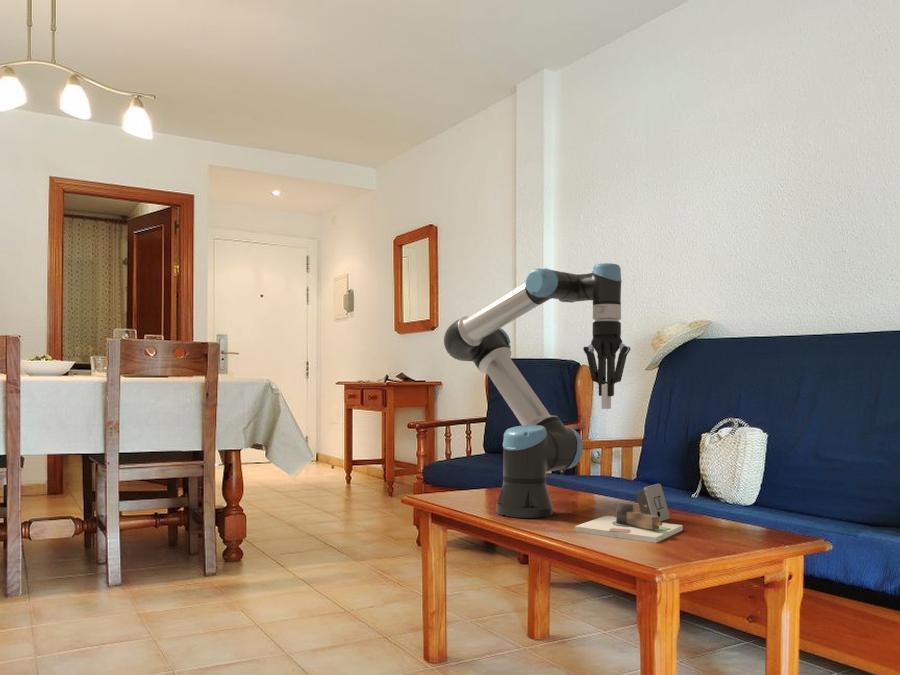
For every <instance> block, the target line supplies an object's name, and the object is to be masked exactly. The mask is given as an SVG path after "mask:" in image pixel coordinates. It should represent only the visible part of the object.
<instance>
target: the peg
mask: <svg viewBox="0 0 900 675" xmlns="http://www.w3.org/2000/svg"><path fill="white" fill-rule="evenodd" d="M615 506H616V513H615V514H616V515H615V517H616V523H618V524H623V525H635V526H639V527H643V528H647V529H652V530H653V529H659V526H662V523H663V521H661V522H659V516H654V515H649V514H645V513H641V511H640V512H639V511H634V504H631V503H622V502H621V503H616V505H615Z"/></svg>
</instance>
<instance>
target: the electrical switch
mask: <svg viewBox="0 0 900 675" xmlns="http://www.w3.org/2000/svg"><path fill="white" fill-rule="evenodd" d="M663 490H664V489H663V486H662V485H661V483H655V484H652V485H648V486H644V487H643V490H642V489H641V490H638V491H636V492H635V497H636V499H637V500H636V501H637V503H638V506H639V511H640V513H645V514H649V515H654V516H659V522H663V521H666V520H669V519H670V518H671V516H670V511H669V508H668V505H667V502H666V498H665V493H664V491H663Z"/></svg>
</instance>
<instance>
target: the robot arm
mask: <svg viewBox="0 0 900 675" xmlns="http://www.w3.org/2000/svg"><path fill="white" fill-rule="evenodd" d="M621 268H622V267H621V266H620V265H619V264H617V263H610V262H609V263H607V262H605V263H602V262H601V263H597V264H594V265H593V266H592V272H591V273H582V274H576V273H569V272H565V271H559V270H554V269H549V268H546V267H545V268H534V269H532V270H531V271H529V273H528V275H527V276H526V279H525V282H523V283H521V284H520V285H518V286H517V287H515V288H513V289H511V290H510V291H509V292H507V293H505V294H504V295H502V296H500V297H498V298H497V299H496V300H494V301H493V302H491V303H489V304H487V305H486V306H485V307H483V308H482V309H479V310H478V311H476V312H475V313H473V314H472V315H470V316H468V315H466V316H465V315H464V316H461V317H460V318H458V319H457V320H455V321H453V323H452V324H450V326H449V327H448V328H447V329H446V331H445V334H444V336H443V345H444V348H445V350H446V352H447V353H448V354H449V356H451V357H452V358H453V359H454V360H457V361H460V362H473V364H474V365H475V367H476V368H477V369H478V371H479V372H480V373H481V374H485V375H488V377H489V378H490V380H491V381H492V383H493V385H494V386H495V387H496V389H497V390H498V392H499V394H500V395H501V396H502V397H503V399H504V401H505V403H507V405H508V407H509V408H510V409H511V411H512V412H513V414H514V416H515V417H516V419H517V420H518V422H519V424H520V425H518V426H517V425H516V426H513V427H510V428H507V429H506V430H505V431H504V433H503V442H502V472H503V473H502V479H503V480H502V486H501V489H500V493H499V495H498V499H497V502H496V513H497V514H498V515H499V516H503V515H505V517H509V516H510V518H517V519H518V518H520V519H534V518H535V519H538V518H546V517H550V516H552V515H553V508H554V506H553V503H552V500H551V497H550V494H549V491H548V487H547V472H554V471H555V472H556V471H565V470H567V469H572V468H574V467H575V466H576V465H577V464H579V462H580V461H581V459H582V457H583V449H584V443H583V439H582V436H581V435H580V434H579V432H578V431H576V429H574V428H570V427H566V426H565V425H564V423H563V422H562V421H561V419H560V418H559V417H558V416H557V415H551V414H550V413H549V411H548V410H547V408H546V407H545V406H544V404H543V403H542V401H541V399H539V397H538V396H537V394H536V393H535V392H534V391H535V390H534V389H532V387H531V385H530V384H529V382H528V381H527V380H526V378H525V377H524V376H523V375H522V374H523V373H522V372H521V371H520V370H519V368H518V367H517V366H516V364H515V363H514V361H513V359H511V356H512V351H511V347H512V346H511V339H510V337H509V335H508V333H507V332H506V331H505V330H504V329H503V327H505V326H507V325H508V324H510V323H511V322H513V321H514V320H517V319H518V318H521V317H522V316H523V315H525V314H526V313H528V312H530V311H532V310H533V309H535V308H536V307H539V306H541V305H542V304H544V303H545V302H548V301H550V300H552V299H554V300H558V301H559V302H561V303H576V302H585V301H586V302H587V301H592V320H594V321H593V322H592V339H591V342H590V344H589V345H587V346H583V348H582V349H583V352H584V353H585V355H586V358H587V364H588V368H589V372H590V377H591V381H592V382H595V383H597V385H598V396H599V397H601V410H604V409H605V410H607V409H608V410H609V409H612V397H614V396H615V384H617V383H620V382H621V381H622V378H623V374H624V370H625V364H626V360H627V356H628V355H629V353H630V351H631V346H627V345H626V344H624V343H623V340H622V337H621V336H622V323H621V320H622V296H621V295H622V282H623V281H622V269H621ZM618 351H619V353H618V357H617V352H618ZM594 352H596V354H597V357H596V355H595V353H594ZM616 357H617V358H616ZM596 358H597V359H596ZM616 359H617V360H616ZM616 361H617V362H616Z"/></svg>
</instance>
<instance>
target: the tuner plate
mask: <svg viewBox="0 0 900 675" xmlns="http://www.w3.org/2000/svg"><path fill="white" fill-rule="evenodd" d="M683 527H684V525H683V524H675V523H668V522H662V526H659V529H653V530H652V529H647V528H643V527H639V526H635V525H623V524H618V523H616V516H612V515H611V516H610V515H603V516H601V517H598V518H595V519H592V520H589V521H586V522H583V523H581V524H577V525H575V526H574V532H577V533H583V534H589V535H590V534H591V535H598V536H605V537H611V538H619V539H626V540H631V541H632V540H633V541H639V542H648V543H655V544H657V543H659V542H661V541H663V540H665V539H667V538H670V537H672V536H674V535H676V534H678V533H680V532H682V531H683V530H684V529H683Z"/></svg>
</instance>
